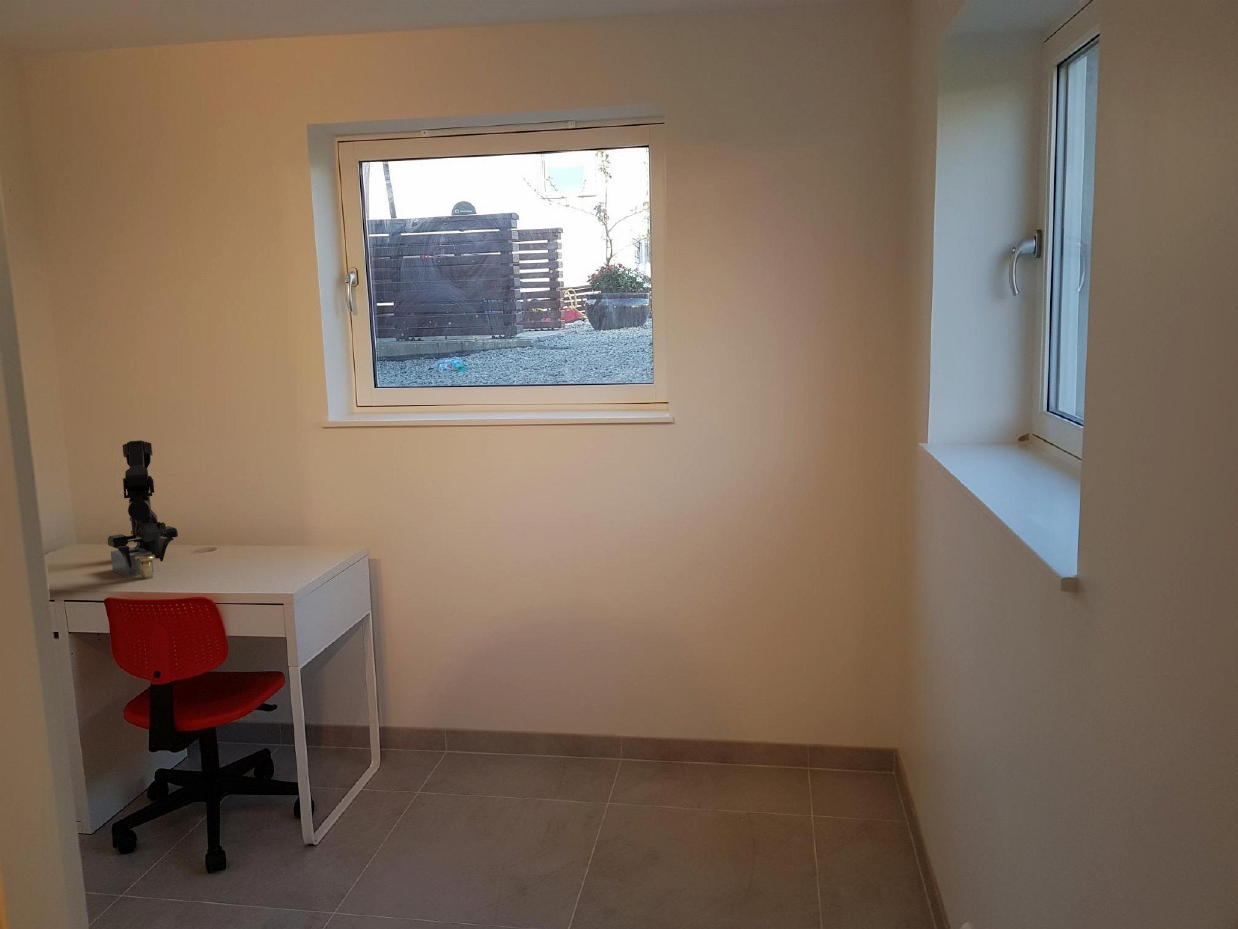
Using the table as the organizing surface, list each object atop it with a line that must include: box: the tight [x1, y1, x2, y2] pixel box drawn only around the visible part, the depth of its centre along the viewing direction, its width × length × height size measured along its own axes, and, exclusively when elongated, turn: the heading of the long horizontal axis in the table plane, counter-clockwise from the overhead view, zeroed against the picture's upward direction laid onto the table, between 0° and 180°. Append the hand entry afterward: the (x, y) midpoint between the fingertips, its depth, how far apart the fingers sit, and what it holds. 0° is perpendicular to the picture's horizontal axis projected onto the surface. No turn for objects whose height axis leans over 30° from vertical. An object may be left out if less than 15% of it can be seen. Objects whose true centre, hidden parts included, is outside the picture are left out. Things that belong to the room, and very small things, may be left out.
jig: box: [110, 546, 154, 578], centre depth 311 cm, size 8×12×6 cm, turn 45°
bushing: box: [135, 554, 157, 580], centre depth 302 cm, size 6×6×7 cm
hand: (146, 564), depth 302 cm, fingers open, 9 cm apart
